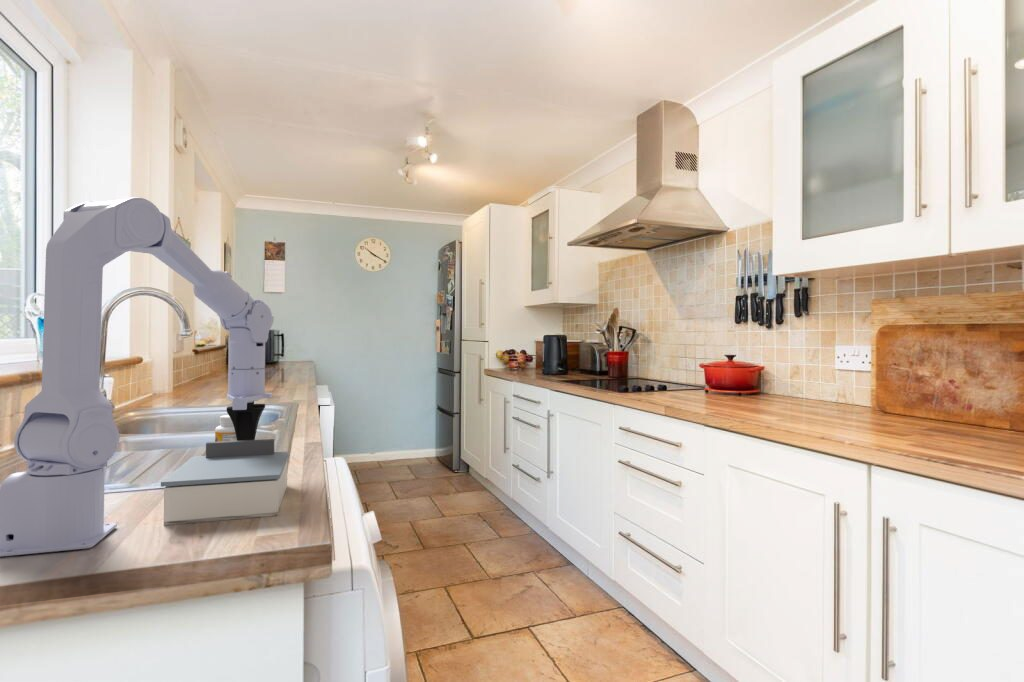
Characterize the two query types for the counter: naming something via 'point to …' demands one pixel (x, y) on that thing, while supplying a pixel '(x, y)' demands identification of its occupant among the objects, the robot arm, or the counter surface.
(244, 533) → the counter surface
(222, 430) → the supplement bottle
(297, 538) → the counter surface
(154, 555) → the counter surface
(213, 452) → the lid
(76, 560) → the counter surface
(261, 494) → the box
